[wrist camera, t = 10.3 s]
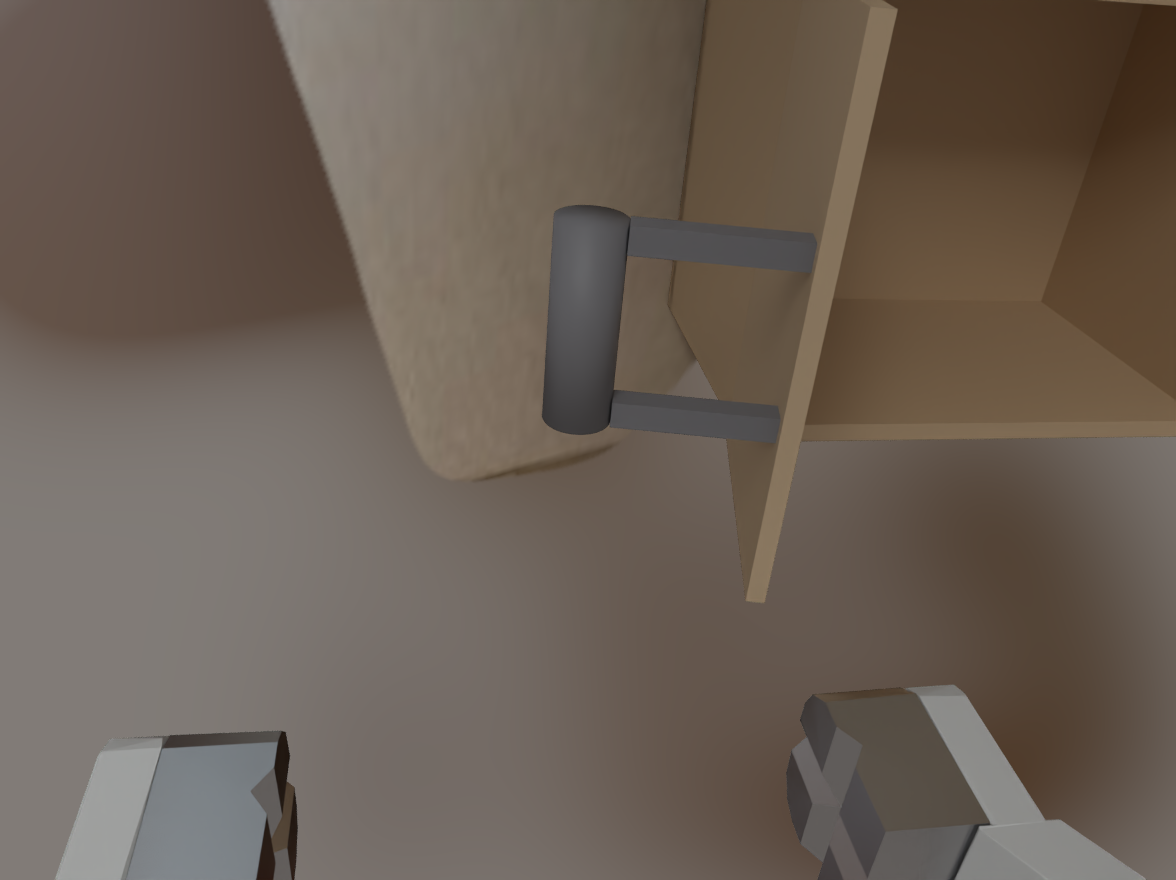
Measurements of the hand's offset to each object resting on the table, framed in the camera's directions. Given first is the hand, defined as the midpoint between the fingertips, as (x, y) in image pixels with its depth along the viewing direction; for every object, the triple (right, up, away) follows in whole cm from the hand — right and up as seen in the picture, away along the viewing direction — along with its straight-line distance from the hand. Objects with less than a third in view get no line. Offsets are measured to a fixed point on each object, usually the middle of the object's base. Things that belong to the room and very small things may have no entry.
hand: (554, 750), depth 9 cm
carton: (+16, +18, +39) cm, 46 cm away
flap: (+7, +8, +20) cm, 23 cm away
